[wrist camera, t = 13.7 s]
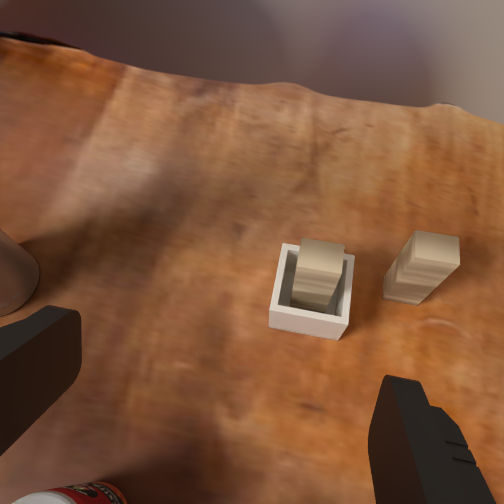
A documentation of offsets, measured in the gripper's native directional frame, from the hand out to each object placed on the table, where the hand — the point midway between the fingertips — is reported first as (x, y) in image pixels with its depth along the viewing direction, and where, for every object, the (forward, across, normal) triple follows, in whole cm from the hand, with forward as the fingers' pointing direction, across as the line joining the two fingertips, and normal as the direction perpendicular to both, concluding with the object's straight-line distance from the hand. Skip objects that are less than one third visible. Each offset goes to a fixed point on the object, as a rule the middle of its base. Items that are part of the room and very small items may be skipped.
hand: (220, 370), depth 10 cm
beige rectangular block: (+36, -14, +10) cm, 40 cm away
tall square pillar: (+33, -4, +12) cm, 35 cm away
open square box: (+34, -4, +12) cm, 36 cm away
